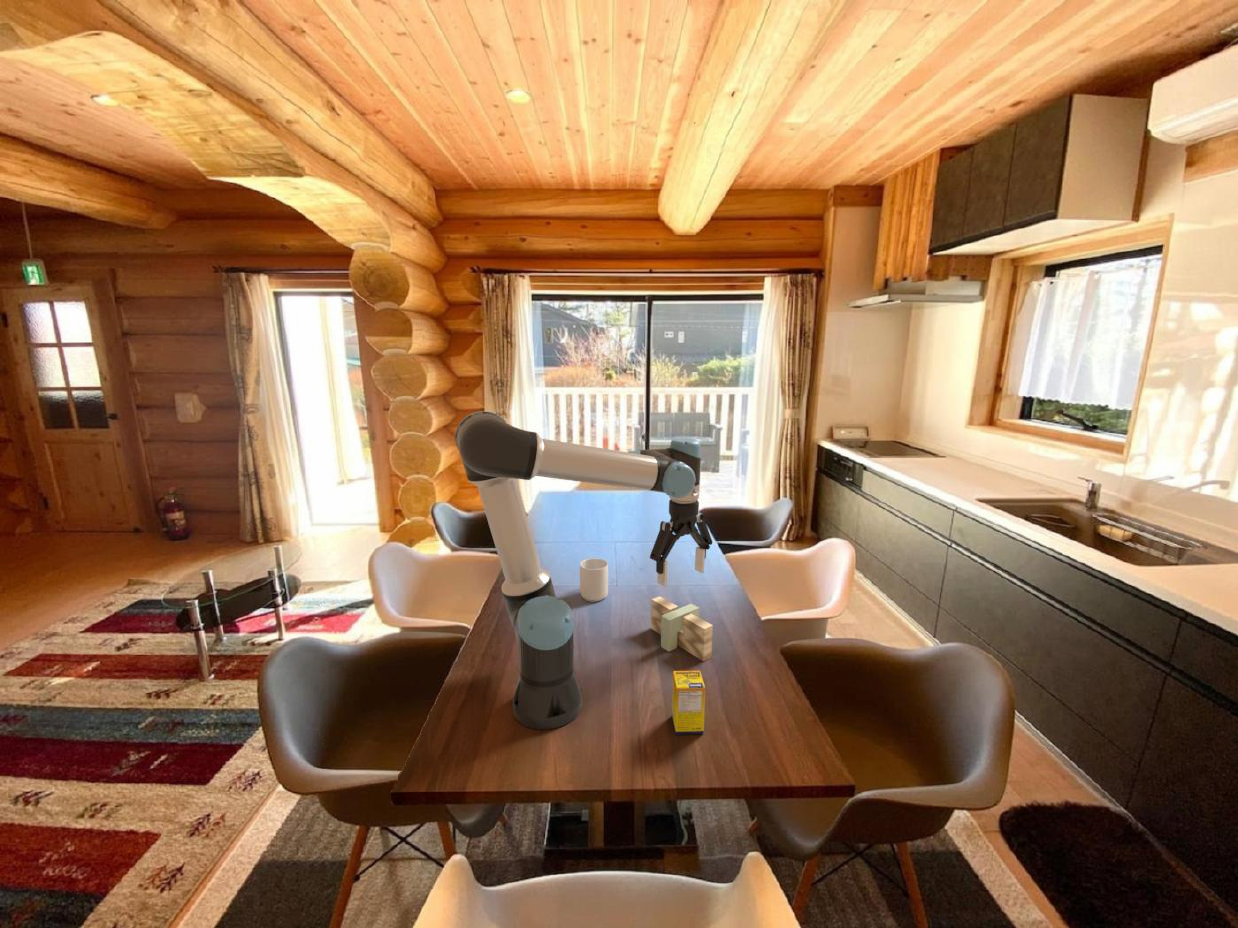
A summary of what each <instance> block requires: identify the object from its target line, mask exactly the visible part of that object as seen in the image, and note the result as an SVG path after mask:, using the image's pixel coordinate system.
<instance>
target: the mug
mask: <svg viewBox="0 0 1238 928" xmlns="http://www.w3.org/2000/svg"><path fill="white" fill-rule="evenodd" d="M579 585H580V586H579V587H580V590H579V591H580V592H579V593H580V596H581V598H583V600H585V601H588V602H591V603H593V602H595V603H597V602H600V601H602V600H605V598H607V596H608V594H609V562H608V561H607V560H604V559H602V558H586V559H584V560H582V561H580V564H579Z"/></svg>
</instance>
